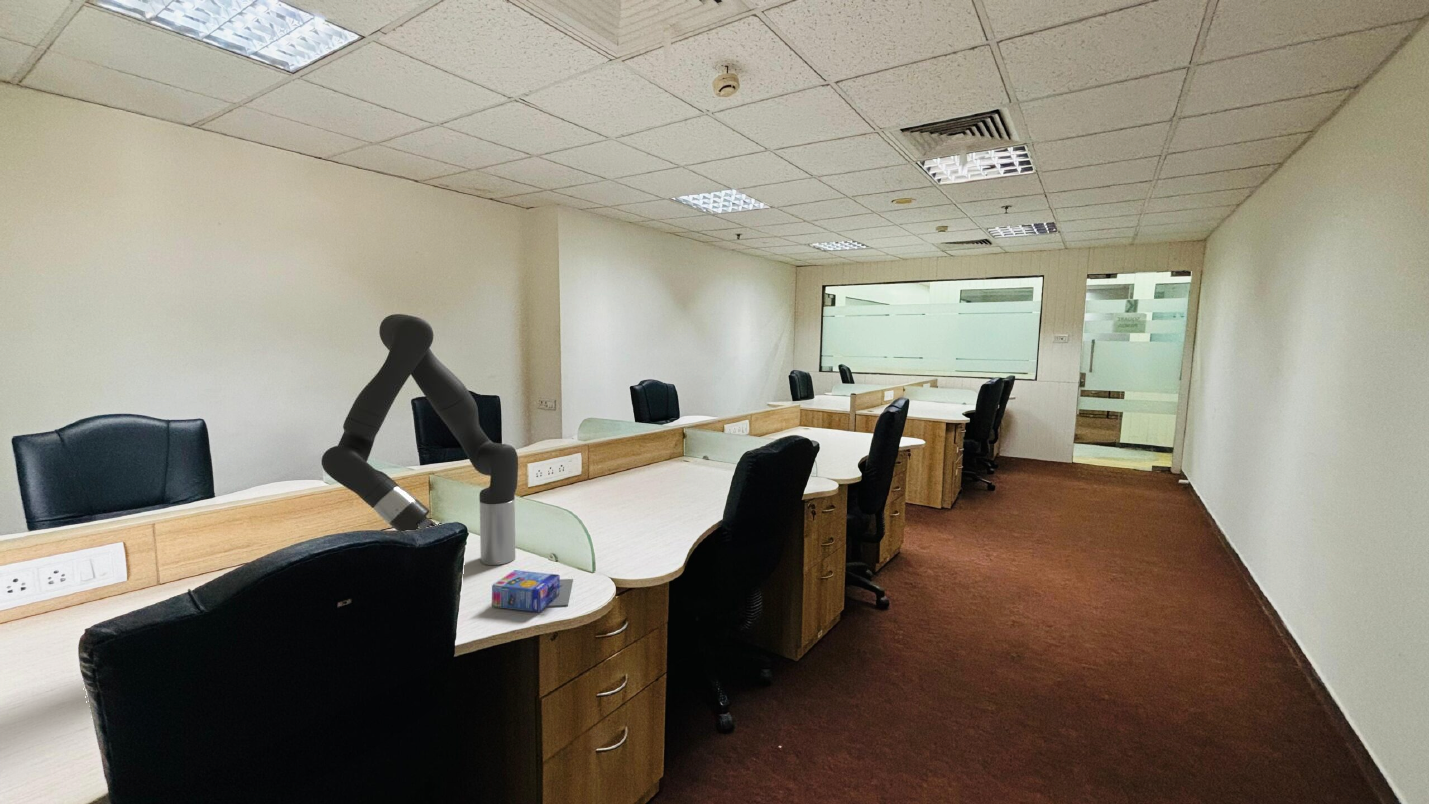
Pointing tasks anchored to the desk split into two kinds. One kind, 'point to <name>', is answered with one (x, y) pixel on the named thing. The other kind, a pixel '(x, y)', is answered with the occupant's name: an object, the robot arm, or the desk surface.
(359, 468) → the robot arm
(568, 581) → the mat
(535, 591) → the ink cartridge box
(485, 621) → the desk surface
